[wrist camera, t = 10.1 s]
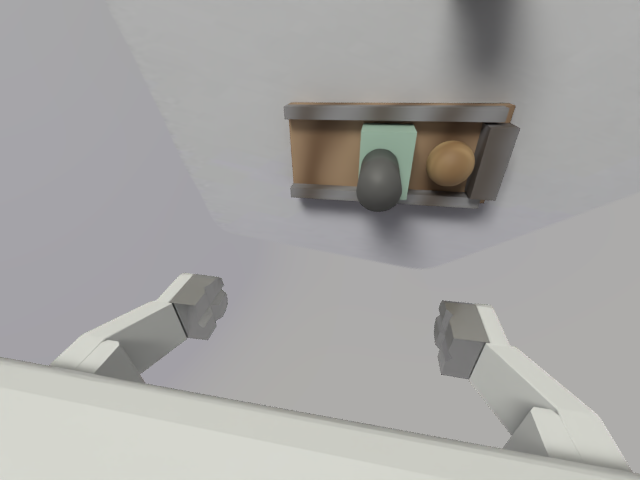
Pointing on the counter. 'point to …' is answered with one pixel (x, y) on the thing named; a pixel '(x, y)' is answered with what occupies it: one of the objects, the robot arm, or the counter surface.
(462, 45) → the counter surface
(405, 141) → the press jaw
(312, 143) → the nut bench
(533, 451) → the robot arm
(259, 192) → the counter surface
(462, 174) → the walnut
